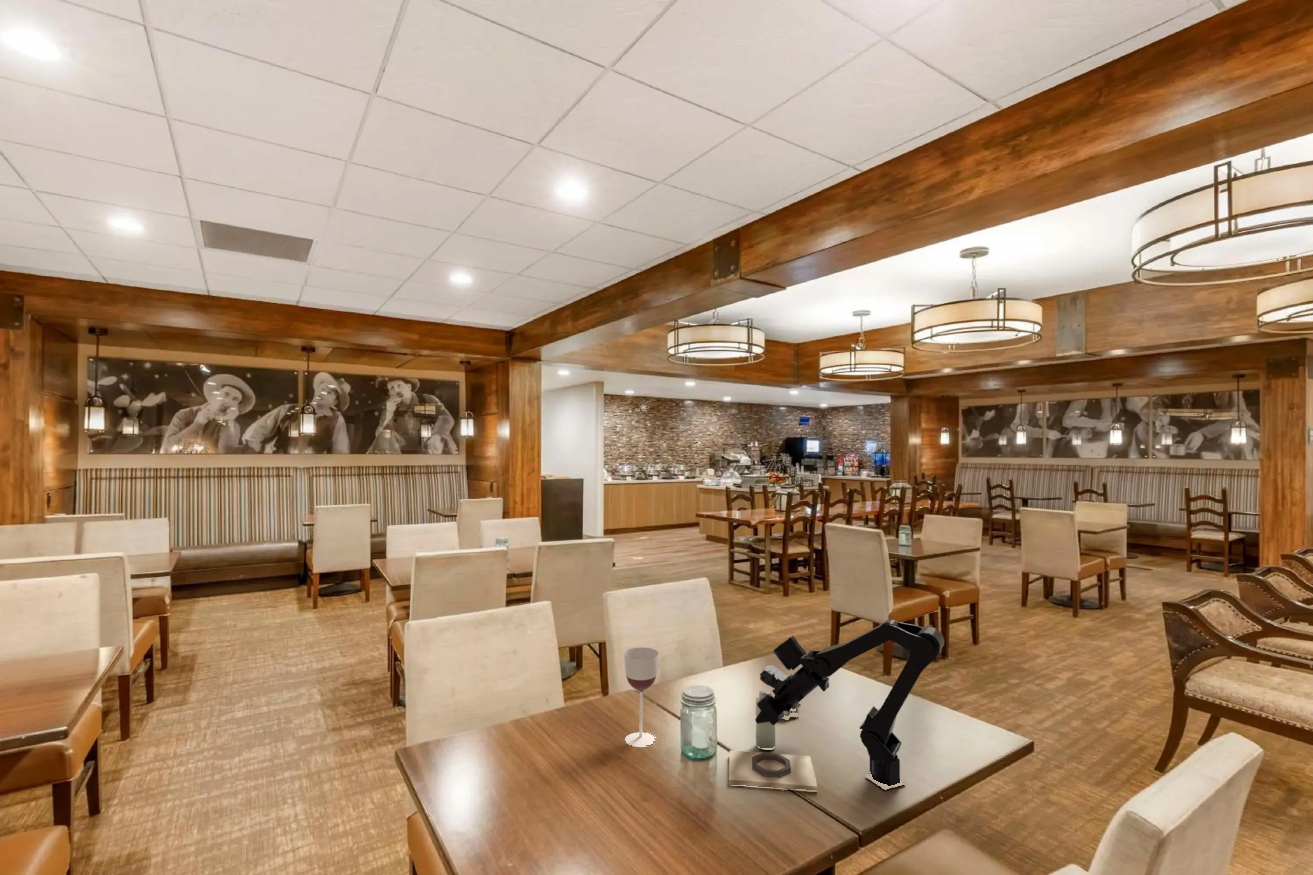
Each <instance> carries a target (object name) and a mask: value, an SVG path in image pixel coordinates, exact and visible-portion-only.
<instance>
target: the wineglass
mask: <svg viewBox="0 0 1313 875" xmlns="http://www.w3.org/2000/svg"><path fill="white" fill-rule="evenodd" d="M658 668H659V651H658V650H657V649H654V648H651V647H641V646H640V647H633V648H630V649H627V650H625V652H624V670H625V671H624V672H625V677H626V680H627V682H628V684H629V685H630V686H631V687H632V688H633V689H635V690H636V691H639V714H638V715H639V716H638V717H639V721H638V722H639V726H638V727H639V728H638V729H639V730H638V731H637V733H636V732H632V733H630V734H628V735H627V736H625V738H624V742H625V741H626V742H625V743H626V744H627V745H629V746H631V745H632V746H631V747H634V748H635V747H636V748H647V747H648V746H646V745H651V744H653V741H655V739H654V738H657V737H656V736H655V735H654V734H653V735H654V736H655V737H654V736H653V735H651V734H652V733H650V732H646V733H644V732H645V731H643V729H644V728H643V721H644V720H643V718H644V716H643V713H644V712H643V710H644V708H643V706H644V704H643V702H644V699H643V698H644V697H643V696H644V691H645V690H647V689H649V688H650V687H651V686H652V685H653V684H654V683H655V680H656V678H657V674H658ZM649 733H650V734H649ZM653 745H654V744H653ZM651 746H652V745H651Z"/></svg>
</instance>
